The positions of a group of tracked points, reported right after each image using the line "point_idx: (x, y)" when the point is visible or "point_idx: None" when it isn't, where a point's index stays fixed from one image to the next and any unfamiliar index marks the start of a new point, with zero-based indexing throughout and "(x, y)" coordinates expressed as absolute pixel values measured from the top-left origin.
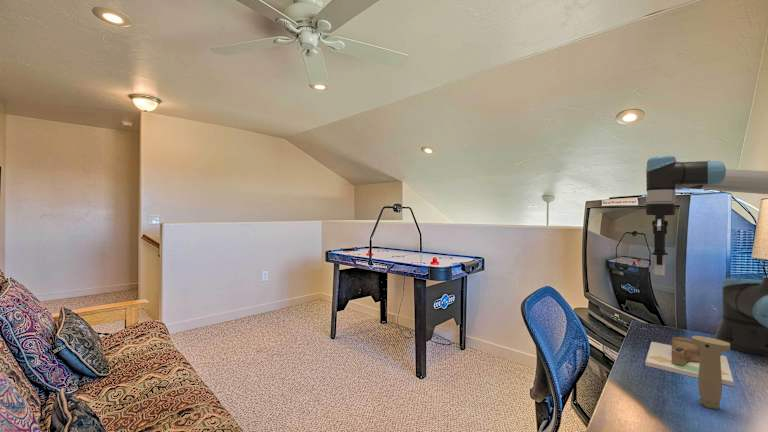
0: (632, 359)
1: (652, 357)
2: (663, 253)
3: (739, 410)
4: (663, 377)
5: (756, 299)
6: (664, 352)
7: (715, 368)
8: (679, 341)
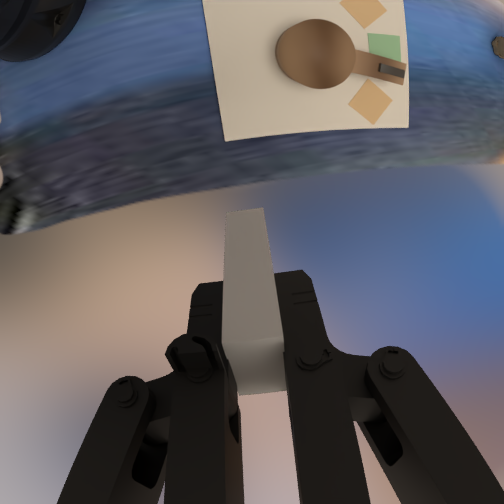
0: (383, 150)
1: (374, 117)
2: (399, 349)
3: (485, 12)
4: (441, 94)
5: None
6: (306, 99)
7: None
8: (341, 70)
